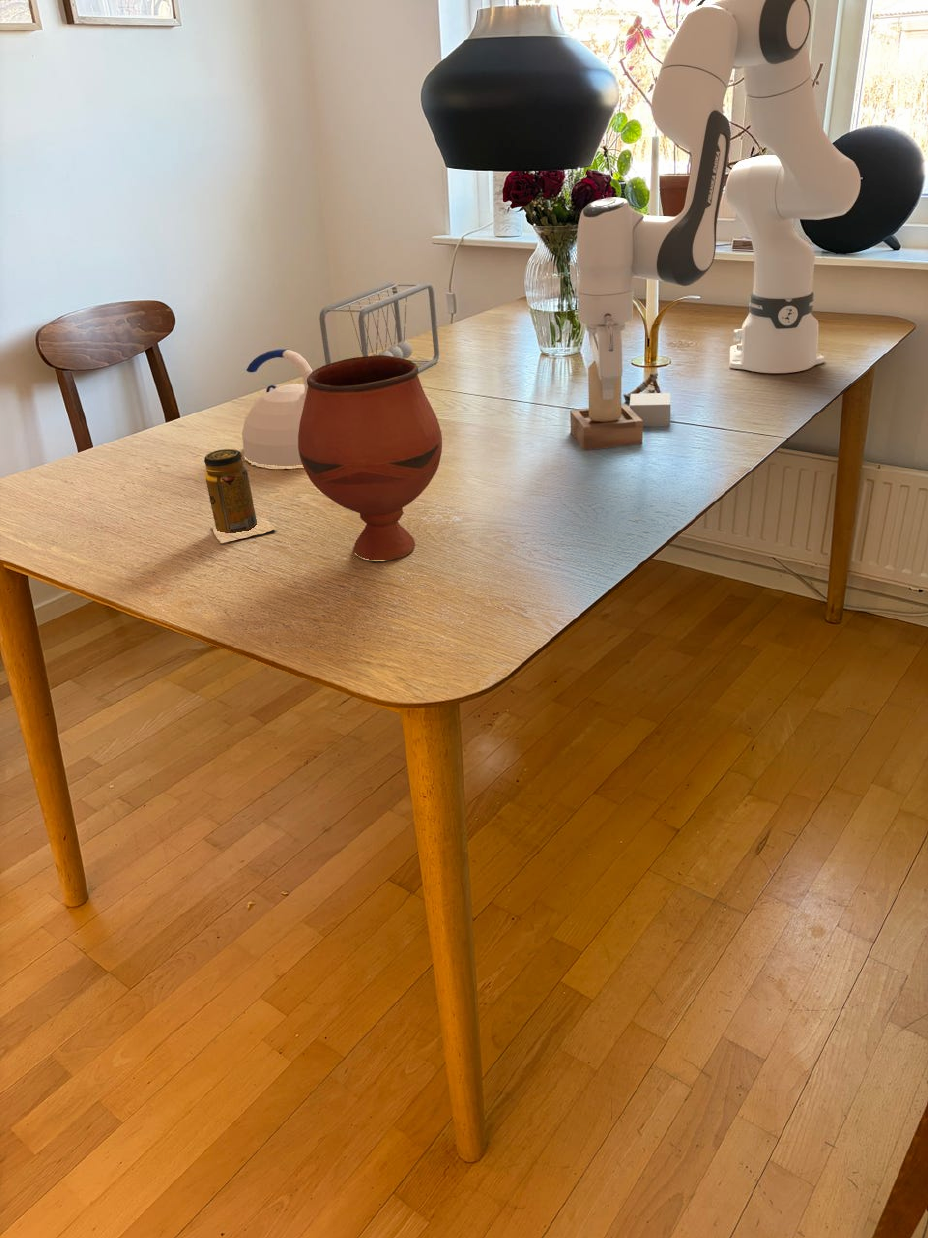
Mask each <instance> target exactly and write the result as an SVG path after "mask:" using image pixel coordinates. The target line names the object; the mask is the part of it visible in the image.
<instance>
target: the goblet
mask: <svg viewBox="0 0 928 1238" xmlns="http://www.w3.org/2000/svg"><path fill="white" fill-rule="evenodd" d="M409 360H410V359H407V358H405V359H403V358H398V357H392V356H385V355H378V354H377V355H374V356H373V355H368V356H365V357H363V356H355V357H350V358H346V359H342V360H339V361H334V362H331V363H330V364H328V365H326V364H324V365H322V366H320V367H318V368H316V369H315V370H312V371H313V372H312V373H311V374H310V375H309V376H308V378H307V385H308V389H307V394H306V398H305V402H304V407H303V411H302V415H301V419H300V424H299V432H298V450H299V456H300V459H301V462H302V464H303V467H304V468H303V469H304V471H305V473H306V475H307V477H308V478H309V480H310V482H311V483H312V484H313V485H314V487H316V489H317V490H319V491H320V493H322V494H323V495H324V496H325V497H327V498H328V499H330V500H331V501H332V502H334V503H336V504H338V505H339V506H341V507H343V508H345V509H348V510H349V511H351V512H354V513H358V514H359V517H360V520H362V521H363V522H365V524H366V525H365V526H364V528H363V530H362V531H361V533H360V534H359V536H358V537H357V539H356V540H355V542H354V545H353V549H354V550H353V552H355V553H356V554H357V555H358V556H360V557H362V558H365V559H369V560H388V561H393V560H392V559H394V560H397V559H396V558H398V559H401V558H403V556H404V557H406V556H408V555H409V554H410V552H411V551H412V550H413V549H414V550H415V546H416V543H415V539H414V538H413V536H412V535H411V534H410V532H408V531H407V530H406V528H404V526H402V525H401V524H400V522H399V521H400V519H401V518H402V516H403V515H404V513H405V512H404V509H403V508H404V507H406V506H408V505H409V504H410V503H412V502H414V501H415V500H416V499H417V498H418V497H420V496H421V494H422V493H423V492H424V491H425V490H426V488H427V487H428V486H429V485H430V483H431V481H432V480H433V478H434V476H435V475H436V472H437V471H438V469H439V466H440V461H441V457H442V452H443V451H442V450H443V449H442V448H443V435H442V430H441V428H440V427H441V426H440V424H439V421H438V417H437V415H436V414H435V410H434V409H433V407H432V404H431V403H430V401H429V399H428V397H427V396H426V393H425V391H424V388H423V386H422V384H421V380H420V377H419V375H418V374H419V373H418V367H419V366H418V365H417V363H416V362H411V361H409ZM414 550H413V551H414ZM413 551H412V552H413ZM412 552H411V553H412ZM355 553H354V554H355ZM407 554H408V555H407ZM405 555H406V556H405ZM358 556H357V557H358ZM400 557H401V558H400Z"/></svg>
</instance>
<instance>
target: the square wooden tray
mask: <svg viewBox="0 0 928 1238" xmlns="http://www.w3.org/2000/svg"><path fill="white" fill-rule="evenodd" d="M569 413H570V417H569V418H570V419H569V420H570V422H569V423H570V433H571V434H572V435H571V436H573V438H574V439H575V440H576V442H577V443H578V444H579V446H580V447H581V448H582V449H583V451H590V450H600V449H607V448H617V447H625V446H633V445H642V444H643V432H644V431H643V429H644V428H643V427H644V426H643V420H642V419H641V418H640V417H639V416H638V415H637V414H636V413H635V412H634V411H633V410H632V409H631V408H630V405H628V404H627V403H621V418H619V419H618V420H614V421H609V422H598V421H593V420H591V419H590V418H589V407H586V408H579V409H570V411H569Z"/></svg>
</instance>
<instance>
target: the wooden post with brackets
mask: <svg viewBox="0 0 928 1238" xmlns="http://www.w3.org/2000/svg"><path fill="white" fill-rule="evenodd" d="M658 376H659V373H658V372H655V373H650V374H649V376H648V378H646V379H645V380H644V381H642V383H641V382H640V384H639V385H638V386H637V387H636V388H635V389H634V390H633V391H631V392H629V393H624V394H622V396H623V398H624V401H625V402H627V403H630V397H631V394H641V393H643V392H644V390H646V389H647V388H648V387H649V385H651V386H653V388H654V389H652V390H650V389H649V390H648V392H647V393H655V392H656V393H662V392H661V389H660V386H659V385H658V382H657V379H658Z"/></svg>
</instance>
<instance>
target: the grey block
mask: <svg viewBox="0 0 928 1238" xmlns="http://www.w3.org/2000/svg"><path fill="white" fill-rule="evenodd" d="M629 407H630V408H631V409H632V410H633V411H634V412H635V413H636V414H637V415H638V416H639V417H640V418H641V419H642V420H643V427H649V426H650V427H651V426H653V427H656V426H657V427H658V426H659V427H661V426H667V427H668V426H671V392H661V393H657V392H656V393H648V392H647V393H646V392H645V393H643V392H642V393H639V394H631V397H630V402H629Z"/></svg>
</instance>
